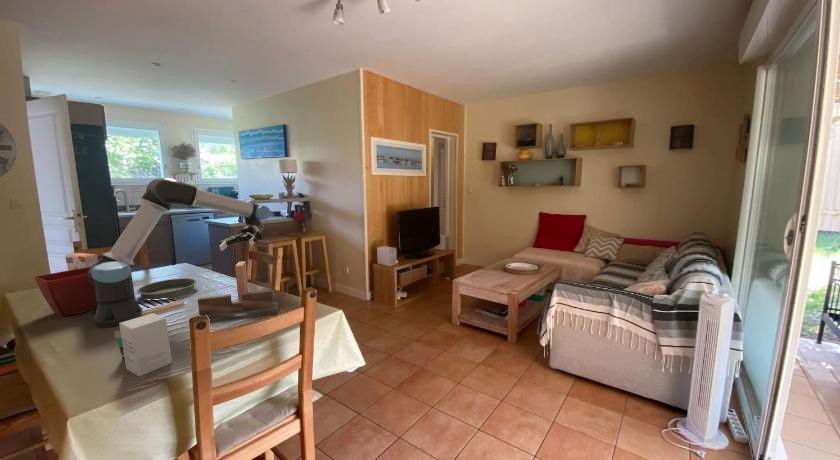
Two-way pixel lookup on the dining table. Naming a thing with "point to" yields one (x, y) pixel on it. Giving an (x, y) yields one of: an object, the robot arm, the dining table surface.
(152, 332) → the supplement box
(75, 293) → the plant pot
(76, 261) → the cracker box
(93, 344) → the dining table surface
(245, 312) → the cross board
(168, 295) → the cake pan
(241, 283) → the halving plate
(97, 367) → the dining table surface
